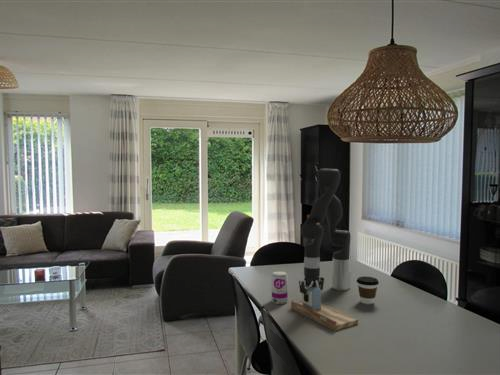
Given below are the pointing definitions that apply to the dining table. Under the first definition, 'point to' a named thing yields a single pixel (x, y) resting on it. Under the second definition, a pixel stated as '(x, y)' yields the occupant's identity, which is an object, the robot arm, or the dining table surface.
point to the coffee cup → (367, 289)
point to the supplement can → (279, 287)
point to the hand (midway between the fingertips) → (311, 300)
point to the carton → (313, 298)
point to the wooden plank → (326, 316)
